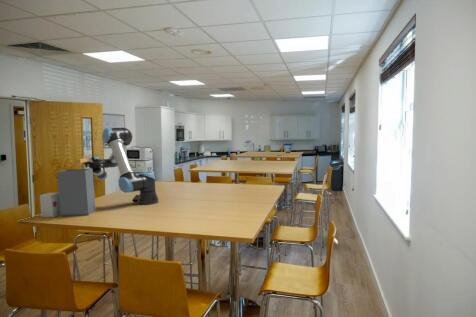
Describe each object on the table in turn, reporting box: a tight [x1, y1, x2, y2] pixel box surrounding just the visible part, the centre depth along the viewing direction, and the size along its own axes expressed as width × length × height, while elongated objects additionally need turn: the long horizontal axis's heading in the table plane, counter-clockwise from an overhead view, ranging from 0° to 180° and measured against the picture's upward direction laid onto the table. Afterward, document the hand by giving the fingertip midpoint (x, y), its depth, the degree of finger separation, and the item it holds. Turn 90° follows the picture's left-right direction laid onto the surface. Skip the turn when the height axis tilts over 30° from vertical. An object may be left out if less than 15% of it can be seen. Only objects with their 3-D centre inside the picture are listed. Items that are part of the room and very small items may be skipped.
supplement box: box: [39, 192, 61, 218], centre depth 222 cm, size 9×9×15 cm
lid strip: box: [75, 157, 91, 164], centre depth 239 cm, size 3×24×3 cm, turn 5°
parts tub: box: [56, 168, 96, 218], centre depth 224 cm, size 18×13×30 cm
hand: (86, 156), depth 243 cm, fingers closed on lid strip, 3 cm apart
